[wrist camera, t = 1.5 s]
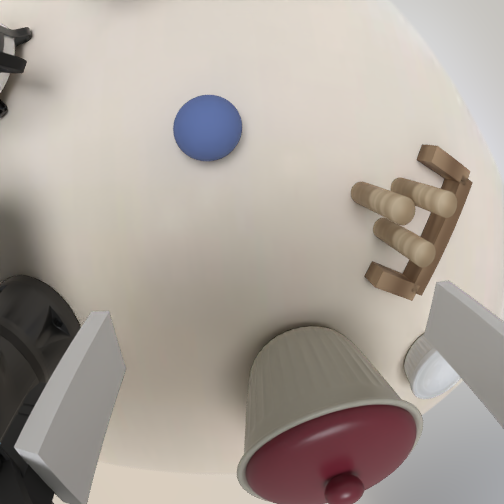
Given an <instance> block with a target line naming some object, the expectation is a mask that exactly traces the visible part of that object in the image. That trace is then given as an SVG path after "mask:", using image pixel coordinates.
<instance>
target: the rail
mask: <svg viewBox="0 0 504 504" xmlns="http://www.w3.org/2000/svg"><path fill="white" fill-rule="evenodd" d="M417 160H418V161H419V162H421V163H422V164H424V165H425V166H427V167H428V168H430V169H431V170H433V171H434V172H436V173H437V174H439V175H440V176H442V177H443V178H445V180H444V182H443V185H442V187H441V189H443V190H447V191H450V192H452V193H454V194H455V196H456V198H457V208H456V211H455V213H454V214H453V215H452V216H451V217H449V218H445V217H442V216H440V215H437V214H435V213H433V212H431V214H430V217H429V219H428V221H427V224H426V226H425V228H424V230H423V232H422V235H421V237H422V238H423V239H425V240H427V241H429V242H430V243H432V244H433V245H434V246H435V250H436V254H435V258H434V260H433V262H432V263H431V264H430V265H429V266H427V267H419V266H418V265H416V264H415V263H414V262H412V261H411V260H409V262H408V264H407V266H406V268H405V270H404V272H403V274H402V273H399V272H397V271H395V270H392V269H390V268H387V267H385V266H382V265H380V264H378V263H375V262H373V261H372V263H371V265H370V267H369V269H368V271H367V273H366V275H365V277H366V278H367V279H368V280H369V281H370V282H371V283H372V285H373V286H374V287H376V288H379V289H381V290H384V291H387V292H390V293H392V294H395V295H398V296H401V297H403V298H406V299H409V300H411V301H412V300H413V298H414V296H415V295H416V294H419V295H421V296H422V294H423V292H424V290H425V288H426V286H427V284H428V283H429V281H430V279H431V277H432V275H433V273H434V271H435V269H436V267H437V265H438V263H439V261H440V259H441V257H442V255H443V252H444V250H445V248H446V246H447V244H448V242H449V239H450V237H451V235H452V233H453V230H454V228H455V226H456V223H457V221H458V219H459V216H460V214H461V211H462V209H463V206H464V204H465V201H466V199H467V196H468V194H469V191H470V188H471V185H472V182H471V181H470V180H469V179H468V177H469V174H470V171H469V170H468V169H467V168H466V167H464V166H463V165H462V164H461V163H459V162H458V161H457V160H455V159H454V158H453V157H452V156H450V155H449V154H448V153H446V152H445V151H444V150H442V149H441V148H439V147H438V146H433V145H422V147H421V149H420V152H419V155H418V157H417Z"/></svg>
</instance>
